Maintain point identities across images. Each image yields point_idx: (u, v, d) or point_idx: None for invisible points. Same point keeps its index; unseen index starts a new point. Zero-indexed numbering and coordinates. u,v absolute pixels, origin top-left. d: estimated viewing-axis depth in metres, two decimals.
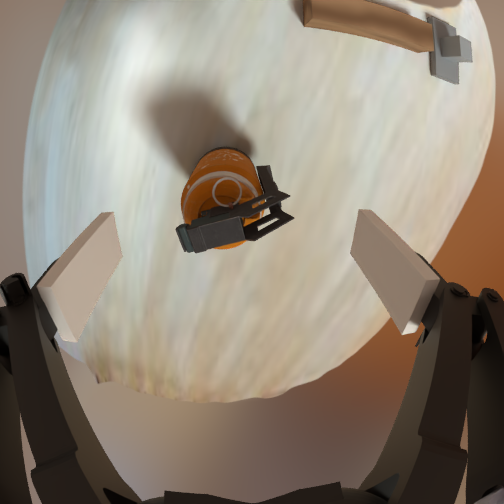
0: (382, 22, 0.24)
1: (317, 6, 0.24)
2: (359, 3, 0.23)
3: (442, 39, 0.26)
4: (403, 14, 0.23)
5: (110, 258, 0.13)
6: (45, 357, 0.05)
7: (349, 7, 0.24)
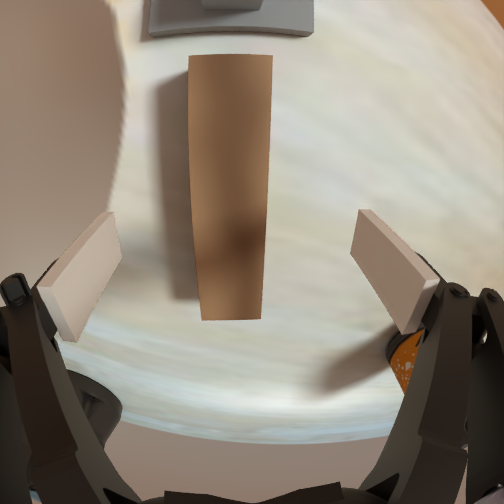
0: (237, 200, 0.18)
1: (235, 313, 0.23)
2: (206, 249, 0.20)
3: (209, 7, 0.13)
4: (193, 142, 0.16)
5: (110, 258, 0.13)
6: (45, 357, 0.05)
7: (221, 266, 0.20)
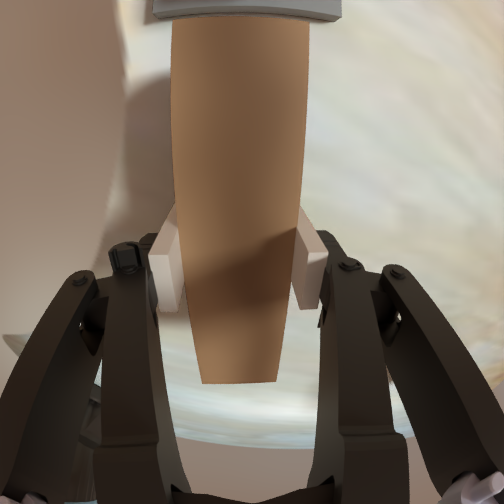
0: (251, 247, 0.12)
1: (245, 377, 0.17)
2: (205, 310, 0.14)
3: None
4: (180, 159, 0.10)
5: None
6: (147, 336, 0.06)
7: (227, 330, 0.14)
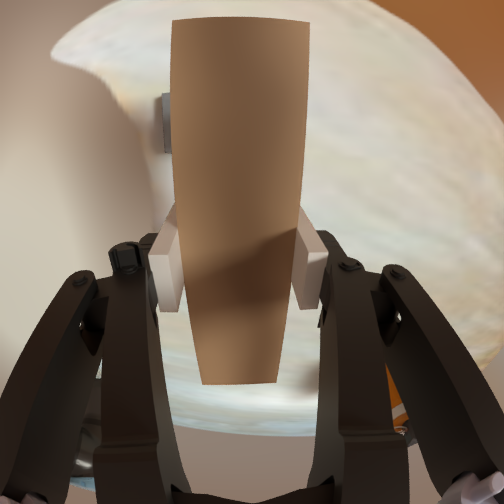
0: (251, 249, 0.12)
1: (245, 378, 0.17)
2: (205, 312, 0.14)
3: None
4: (180, 160, 0.10)
5: None
6: (147, 335, 0.06)
7: (227, 332, 0.14)
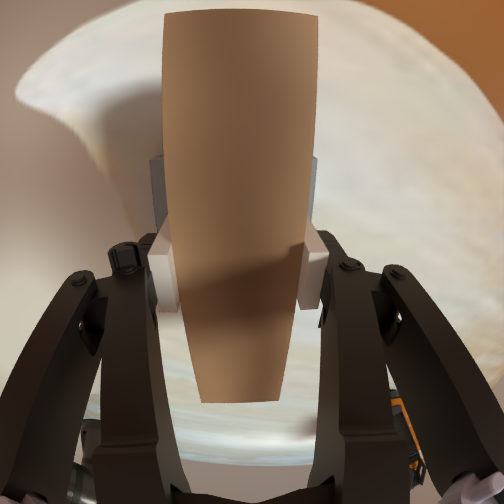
0: (253, 267, 0.11)
1: (246, 397, 0.16)
2: (203, 332, 0.13)
3: None
4: (173, 170, 0.09)
5: None
6: (147, 335, 0.06)
7: (227, 352, 0.13)
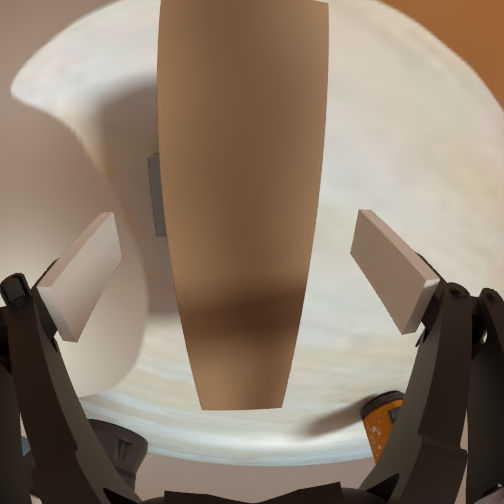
0: (256, 273, 0.10)
1: (248, 404, 0.15)
2: (203, 341, 0.12)
3: None
4: (169, 169, 0.08)
5: (110, 258, 0.13)
6: (45, 357, 0.05)
7: (228, 361, 0.13)
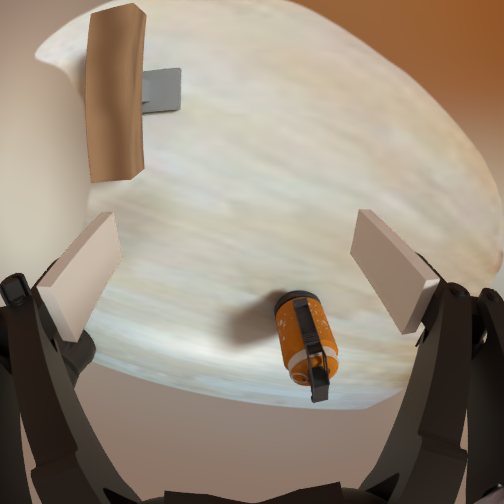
0: (110, 85, 0.21)
1: (112, 174, 0.26)
2: (92, 121, 0.23)
3: None
4: (88, 57, 0.19)
5: (110, 258, 0.13)
6: (45, 357, 0.05)
7: (101, 133, 0.24)
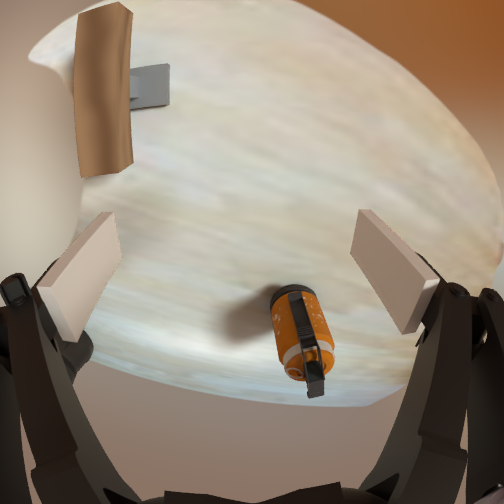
0: (97, 82, 0.21)
1: (101, 168, 0.26)
2: (80, 117, 0.23)
3: None
4: (76, 56, 0.19)
5: (110, 258, 0.13)
6: (45, 357, 0.05)
7: (89, 128, 0.23)
